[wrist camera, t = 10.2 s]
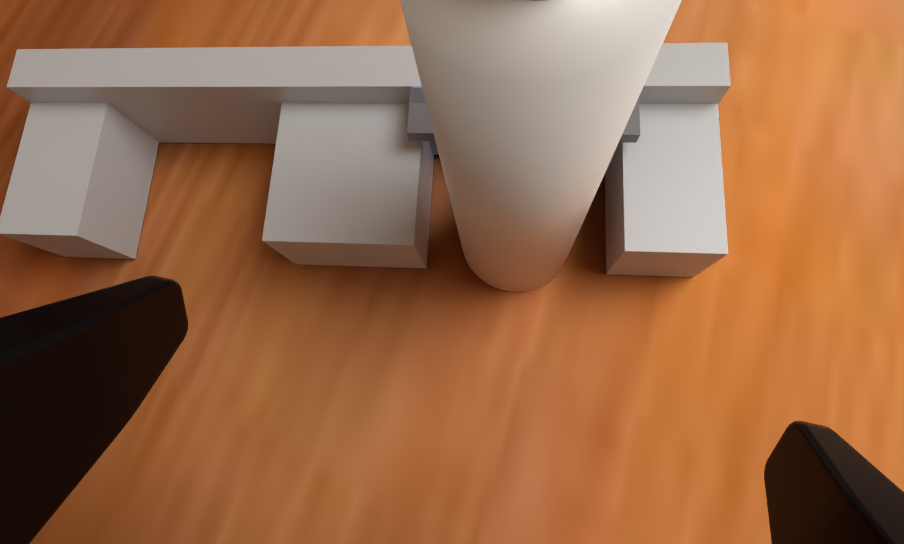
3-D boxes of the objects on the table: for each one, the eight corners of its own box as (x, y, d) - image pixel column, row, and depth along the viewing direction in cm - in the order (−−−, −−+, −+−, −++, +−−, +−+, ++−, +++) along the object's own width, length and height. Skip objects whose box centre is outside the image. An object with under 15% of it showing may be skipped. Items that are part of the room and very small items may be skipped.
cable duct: (684, 111, 20) (727, 42, 17) (693, 277, 19) (742, 244, 15) (99, 109, 23) (17, 49, 19) (64, 256, 21) (-33, 223, 17)
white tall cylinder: (586, 209, 20) (787, -259, 6) (547, 308, 19) (673, 40, 5) (486, 174, 21) (453, -322, 7) (444, 268, 20) (308, -66, 6)
